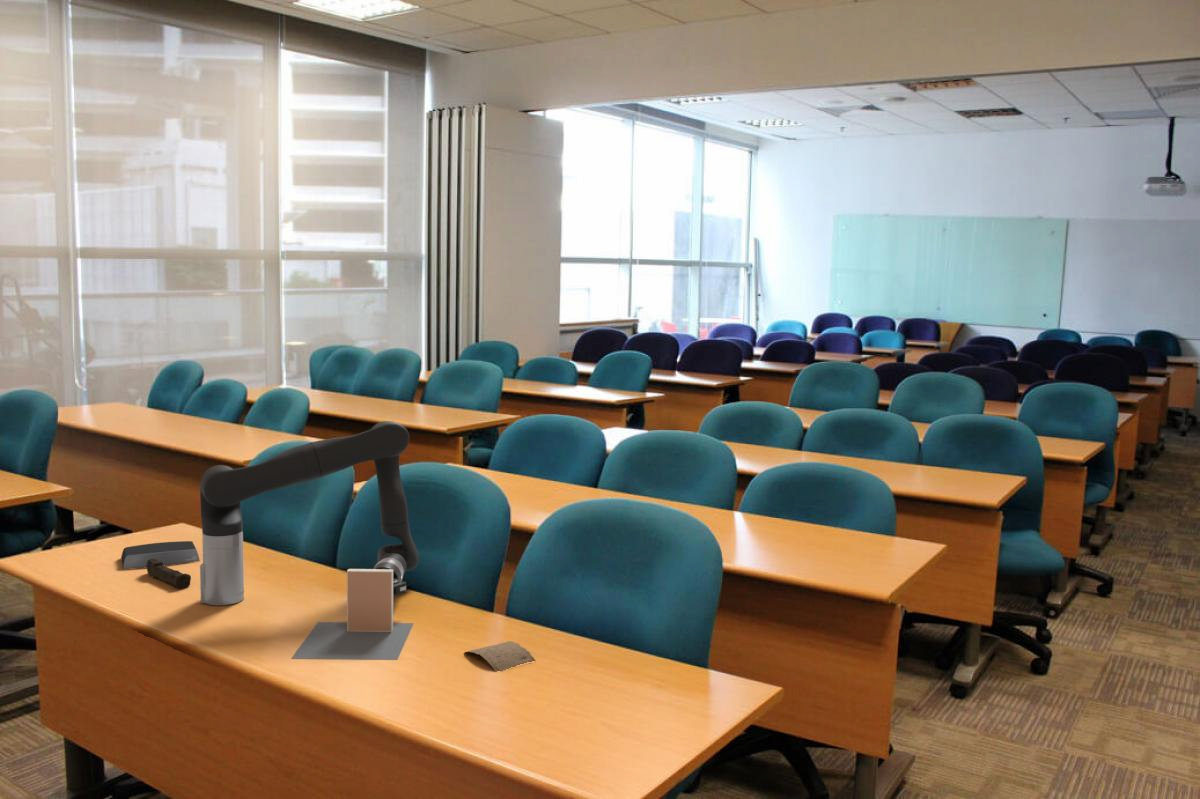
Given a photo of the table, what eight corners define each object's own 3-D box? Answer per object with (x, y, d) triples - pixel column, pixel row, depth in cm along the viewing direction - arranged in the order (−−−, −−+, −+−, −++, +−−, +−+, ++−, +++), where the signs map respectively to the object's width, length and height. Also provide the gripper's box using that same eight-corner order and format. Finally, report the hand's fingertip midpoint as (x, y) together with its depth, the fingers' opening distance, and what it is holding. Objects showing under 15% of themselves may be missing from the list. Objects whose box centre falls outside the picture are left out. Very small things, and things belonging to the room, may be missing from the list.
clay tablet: (538, 665, 202) (538, 653, 201) (498, 677, 195) (498, 664, 195) (498, 645, 212) (498, 633, 212) (459, 655, 206) (460, 643, 206)
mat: (290, 660, 199) (290, 658, 199) (318, 624, 221) (318, 621, 221) (397, 662, 200) (397, 659, 200) (413, 625, 222) (413, 623, 222)
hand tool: (191, 587, 245) (191, 570, 245) (176, 591, 242) (176, 573, 242) (158, 572, 258) (158, 555, 257) (143, 575, 255) (143, 558, 254)
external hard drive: (200, 563, 267) (200, 549, 266) (123, 572, 258) (122, 557, 257) (195, 552, 278) (194, 538, 278) (120, 559, 269) (120, 545, 269)
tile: (347, 631, 215) (346, 570, 214) (348, 628, 217) (348, 568, 215) (391, 631, 216) (391, 571, 214) (393, 629, 217) (393, 569, 216)
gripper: (359, 561, 234) (343, 582, 217) (413, 562, 235) (401, 583, 218) (359, 590, 235) (343, 614, 218) (413, 591, 236) (401, 615, 219)
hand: (372, 599), depth 218 cm, fingers closed
